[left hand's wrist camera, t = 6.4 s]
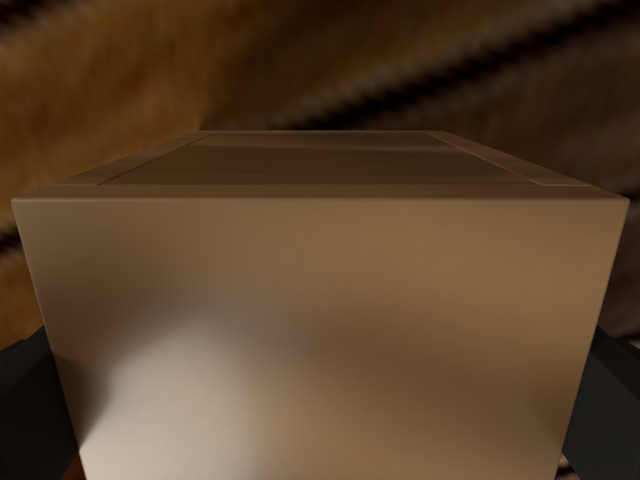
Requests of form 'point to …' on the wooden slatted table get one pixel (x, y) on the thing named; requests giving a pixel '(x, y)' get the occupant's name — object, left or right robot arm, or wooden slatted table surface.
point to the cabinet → (320, 306)
